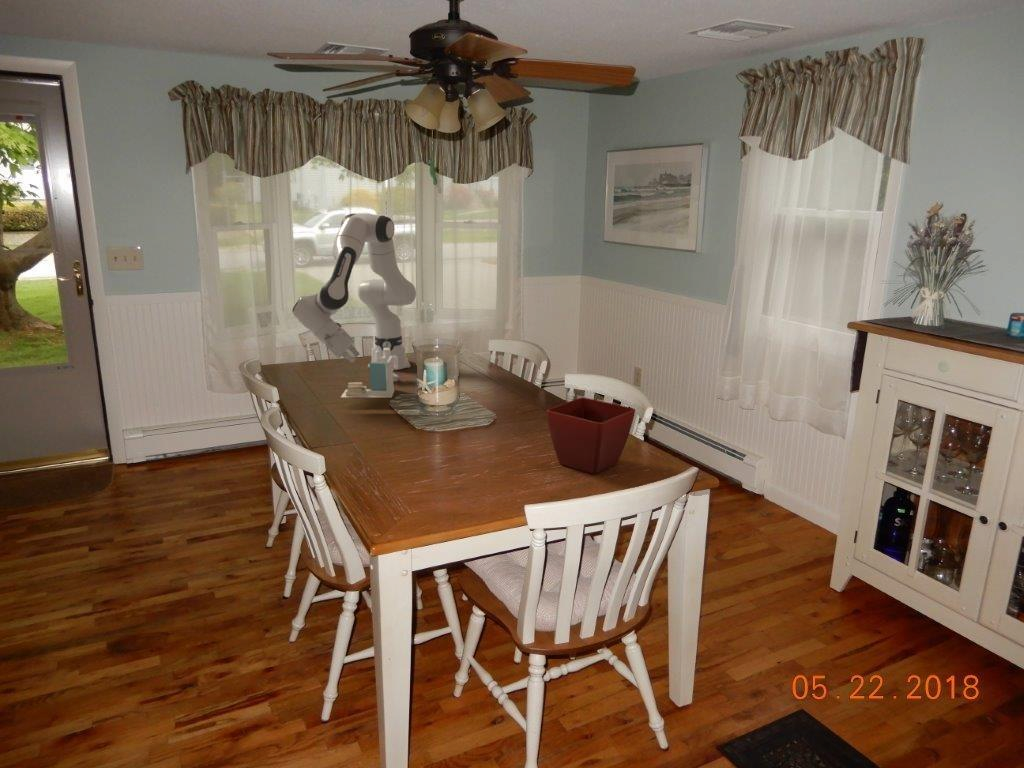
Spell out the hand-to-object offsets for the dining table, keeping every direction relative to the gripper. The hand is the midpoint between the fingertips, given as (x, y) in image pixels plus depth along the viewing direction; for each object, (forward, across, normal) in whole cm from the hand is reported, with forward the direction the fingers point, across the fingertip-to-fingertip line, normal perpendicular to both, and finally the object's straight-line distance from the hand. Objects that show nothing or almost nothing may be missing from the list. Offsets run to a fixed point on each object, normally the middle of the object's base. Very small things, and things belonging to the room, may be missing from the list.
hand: (356, 358), depth 270 cm
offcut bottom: (+9, 0, +10) cm, 14 cm away
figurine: (+17, +19, +4) cm, 26 cm away
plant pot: (+67, -69, -45) cm, 106 cm away
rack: (+14, 0, +8) cm, 16 cm away
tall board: (+15, 0, +4) cm, 16 cm away
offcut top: (+8, 0, +9) cm, 12 cm away
